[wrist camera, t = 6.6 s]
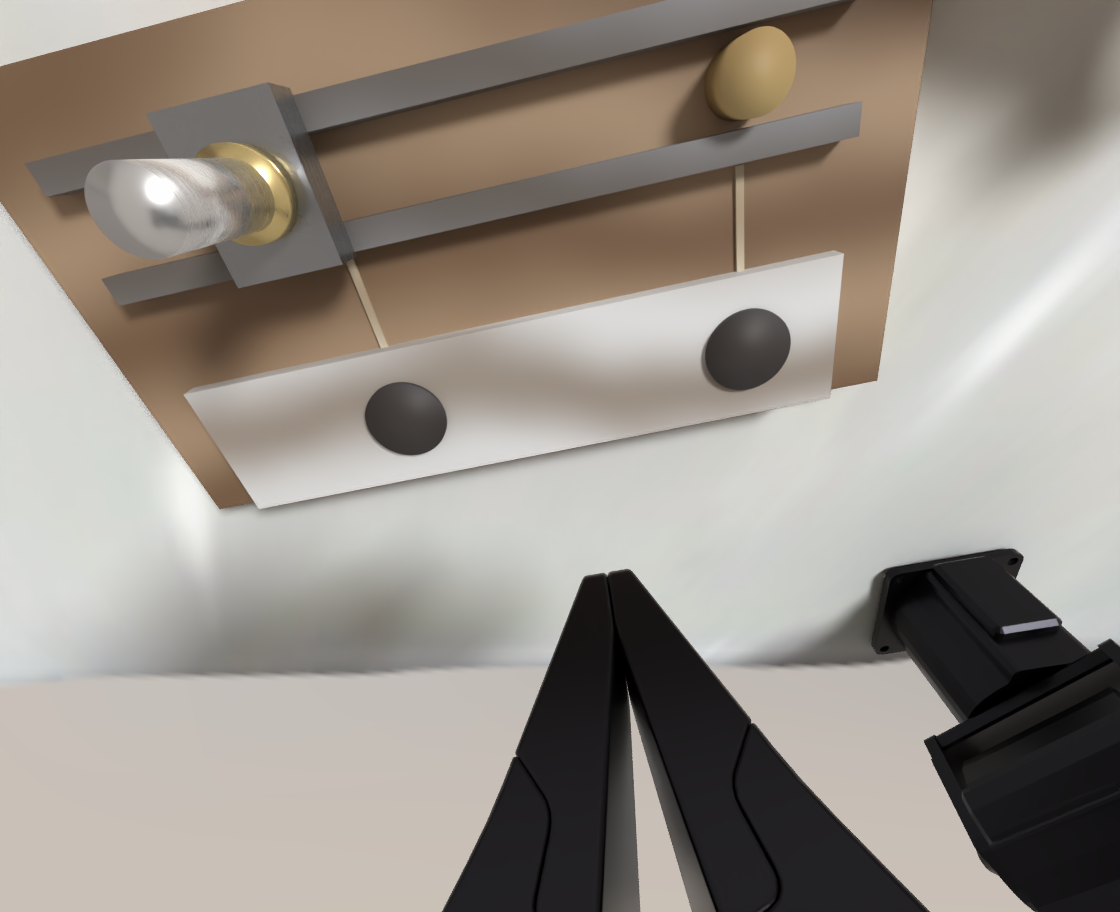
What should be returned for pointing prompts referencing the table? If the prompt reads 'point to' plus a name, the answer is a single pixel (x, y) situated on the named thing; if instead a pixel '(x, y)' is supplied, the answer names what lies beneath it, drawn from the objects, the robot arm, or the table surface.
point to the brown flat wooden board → (493, 224)
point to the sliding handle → (226, 189)
